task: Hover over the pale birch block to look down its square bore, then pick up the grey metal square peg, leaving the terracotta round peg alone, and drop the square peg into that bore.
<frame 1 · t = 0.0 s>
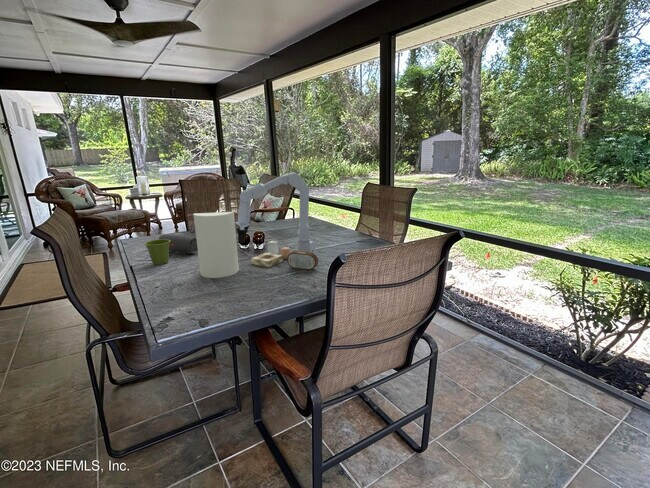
hand: (241, 240, 170), 11 cm above the table, tool pointing down, fingers open, 7 cm apart
plant pot: (160, 263, 171), on the table
square peg: (273, 254, 183), on the table
cylinder: (220, 271, 158), on the table
bore block: (267, 262, 169), on the table
tin: (302, 269, 159), on the table
round peg: (285, 257, 177), on the table
bluetooth speaker: (180, 252, 189), on the table
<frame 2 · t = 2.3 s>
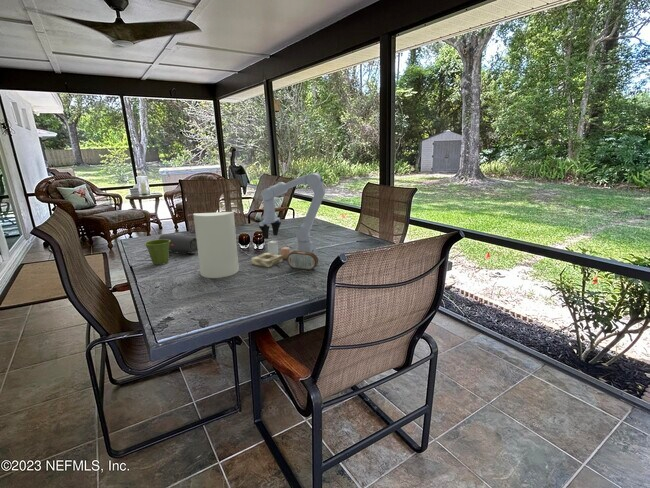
hand: (270, 236, 178), 10 cm above the table, tool pointing down, fingers open, 7 cm apart
nothing on the table moved.
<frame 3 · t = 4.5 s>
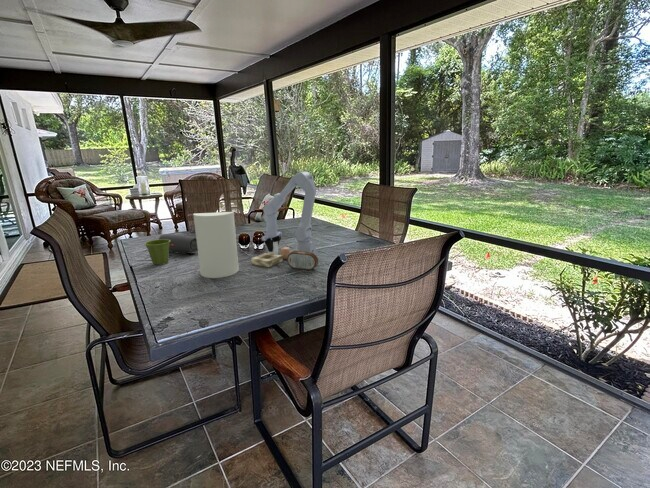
hand: (273, 250, 183), 2 cm above the table, tool pointing down, fingers closed on square peg, 4 cm apart
square peg: (273, 253, 183), on the table, touching gripper
everything else where it was.
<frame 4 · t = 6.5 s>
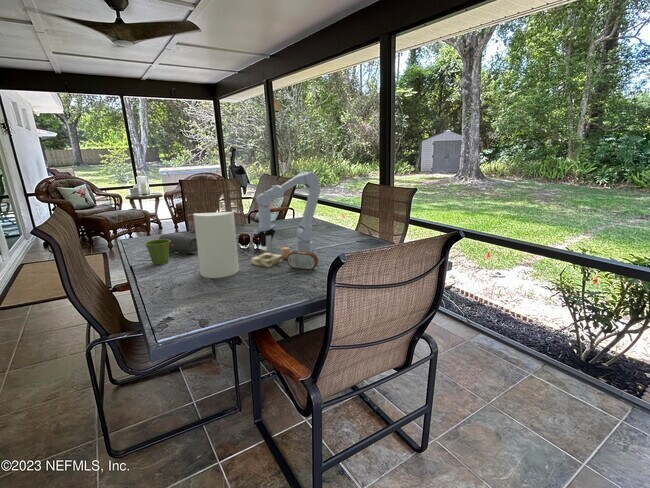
hand: (266, 245, 167), 9 cm above the table, tool pointing down, fingers closed on square peg, 4 cm apart
square peg: (266, 249, 168), point 7 cm above the table, touching gripper
everything else where it was.
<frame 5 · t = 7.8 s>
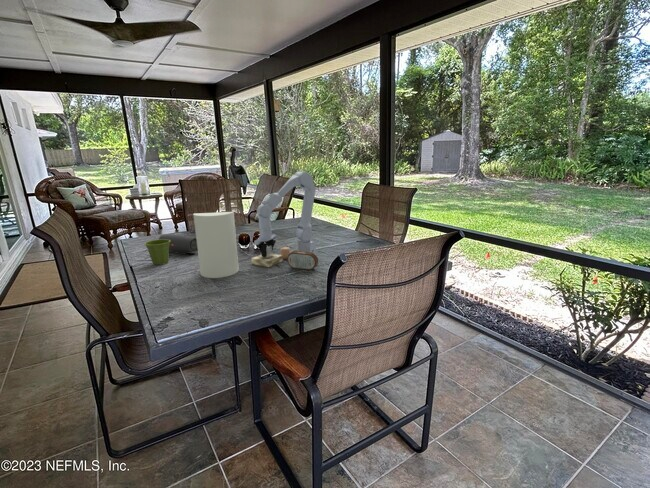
hand: (266, 255, 168), 4 cm above the table, tool pointing down, fingers closed on square peg, 4 cm apart
square peg: (266, 259, 169), point 2 cm above the table, touching gripper
everything else where it was.
when the fingers open (4 cm above the table, at t = 8.7 s): square peg drops 2 cm, resting in bore block.
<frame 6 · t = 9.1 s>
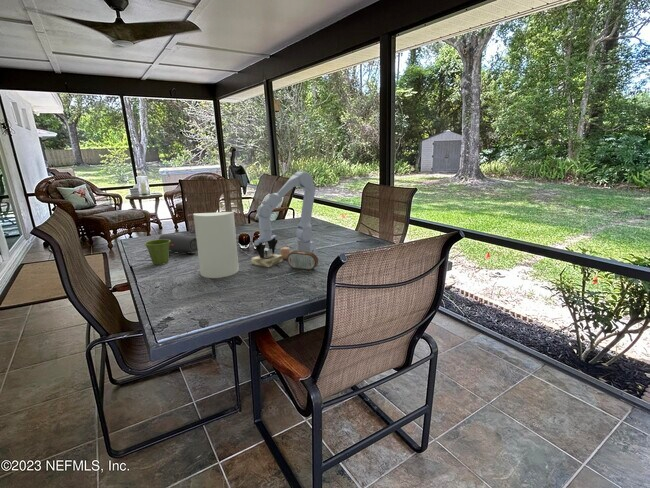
hand: (267, 255, 168), 4 cm above the table, tool pointing down, fingers open, 7 cm apart
square peg: (267, 262, 169), resting in bore block
everything else where it was.
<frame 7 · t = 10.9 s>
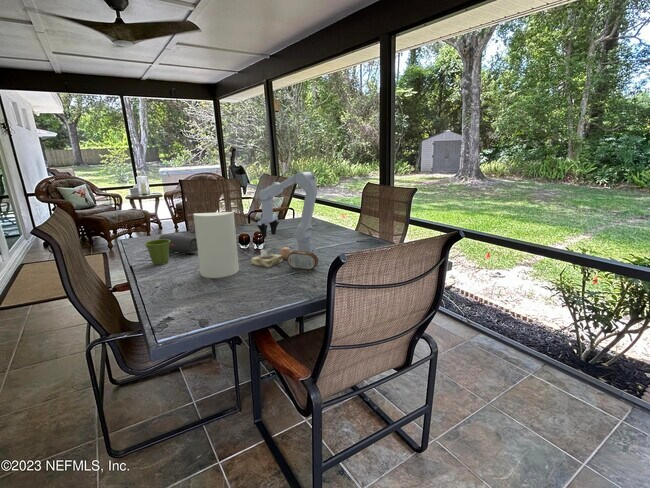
hand: (269, 235, 184), 9 cm above the table, tool pointing down, fingers open, 7 cm apart
nothing on the table moved.
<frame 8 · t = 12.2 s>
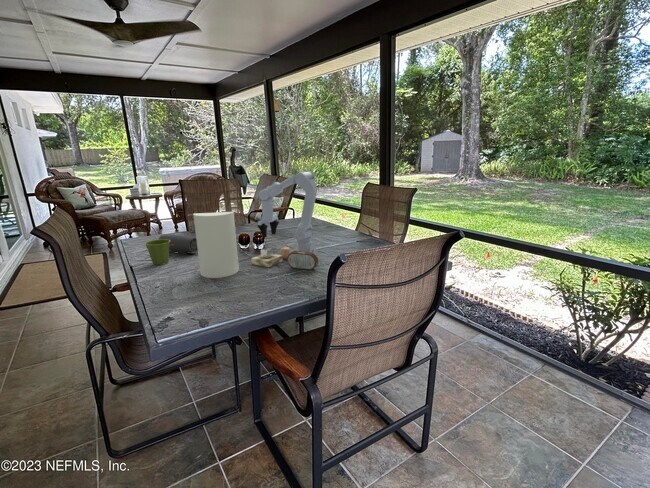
hand: (269, 235, 185), 9 cm above the table, tool pointing down, fingers open, 7 cm apart
nothing on the table moved.
at the end: square peg 0.2 cm off-centre on the bore block, point 0.0 cm above the bore block's base; square peg tilted 0°; round peg moved 0.1 cm from its start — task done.
